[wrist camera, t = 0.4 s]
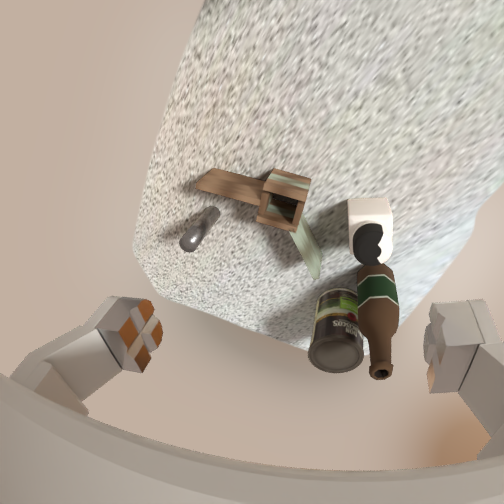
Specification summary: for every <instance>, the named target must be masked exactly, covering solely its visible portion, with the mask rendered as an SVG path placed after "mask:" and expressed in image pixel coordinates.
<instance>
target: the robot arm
mask: <svg viewBox="0 0 504 504" xmlns="http://www.w3.org/2000/svg"><path fill="white" fill-rule="evenodd" d="M153 313H154V307H153V305H152V303H151V301H149V300H147V299H139V298H129V297H117V296H111V297H108V298H107V299H106V300H105V301H104V302H103V303H102V304H101V305H100V307H99V308H98V309H97V310H96V311H95V312H94V314H93V315H92V316H91V317H90V318H89V319H88V321H87V322H86V323H85V324H84V325H83V326H79V327H77V328H75V329H73V330H71V331H69V332H68V333H66V334H64V335H62V336H60V337H58V338H56V339H55V340H53V341H51V342H49V343H47V344H45V345H44V346H42V347H40V348H38V349H36V350H35V351H33V352H31V353H29V354H28V355H27V356H26V357H25V359H24V360H23V361H22V362H21V364H20V365H19V366H18V367H17V368H16V370H15V371H14V372H13V373H12V375H11V376H10V377H9V378H8V377H6V376H4V375H3V374H1V373H0V504H504V342H502V340H501V337H500V335H499V333H498V330H497V327H496V325H495V323H494V320H493V318H492V316H491V313H490V311H489V308H488V306H487V304H486V302H485V301H484V300H483V299H475V300H467V301H454V302H439V303H438V302H436V303H432V305H431V307H430V312H429V317H430V322H431V323H430V324H429V325H428V326H427V327H426V330H425V335H424V358H425V361H426V362H427V363H428V364H429V368H428V371H427V379H428V386H429V393H446V392H458V394H459V395H460V396H461V398H462V399H463V400H464V402H465V403H466V404H467V405H468V407H469V408H470V409H471V411H472V412H473V413H474V415H475V416H476V417H477V419H478V420H479V421H480V423H481V424H482V425H483V427H484V428H485V429H486V431H487V432H488V433H489V435H490V436H491V439H490V440H489V442H488V443H487V444H486V445H485V446H484V448H483V449H482V450H481V451H480V452H479V453H478V454H477V460H475V461H470V462H463V463H457V464H450V465H443V466H435V467H426V468H415V469H402V470H380V471H340V470H318V469H304V468H292V467H284V466H275V465H267V464H260V463H253V462H247V461H241V460H235V459H229V458H225V457H220V456H215V455H210V454H205V453H200V452H197V451H192V450H188V449H184V448H180V447H176V446H173V445H169V444H166V443H162V442H159V441H155V440H152V439H149V438H145V437H142V436H139V435H136V434H133V433H130V432H127V431H124V430H121V429H118V428H116V427H113V426H110V425H108V424H105V423H102V422H100V421H97V420H95V419H92V418H90V417H87V415H88V414H89V412H88V409H87V408H86V407H85V405H84V404H83V403H82V401H83V400H85V399H86V398H87V397H88V396H90V395H91V394H92V393H94V392H95V391H96V390H98V389H99V388H100V387H101V386H103V385H104V384H105V383H107V382H108V381H109V380H110V379H112V378H113V377H114V376H116V375H117V374H118V373H120V372H121V371H122V369H123V370H128V371H133V372H138V373H143V371H144V370H145V368H146V366H147V365H148V363H149V361H150V360H151V352H152V351H154V350H155V349H157V348H158V347H159V345H160V343H161V341H162V336H163V330H162V325H161V323H160V320H159V319H158V318H157V317H155V316H154V315H153Z"/></svg>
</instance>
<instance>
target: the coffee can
mask: <svg viewBox="0 0 504 504" xmlns="http://www.w3.org/2000/svg"><path fill="white" fill-rule="evenodd" d="M308 358H309V360H310V362H311V363H312V364H313V365H314V366H315V367H316V368H318V369H320V370H322V371H325V372H329V373H343V372H348V371H351V370H353V369H355V368H356V367H357V366H359V365H360V364H361V362H362V361H363V358H364V351H363V335H362V334H361V332H360V330H359V326H358V294H357V293H355V292H354V291H352V290H349V289H346V288H333V289H330V290H327V291H325V292H324V293H323V294H321V295H320V297H319V298H318V300H317V303H316V312H315V319H314V324H313V331H312V337H311V343H310V347H309V350H308Z"/></svg>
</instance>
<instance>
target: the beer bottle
mask: <svg viewBox="0 0 504 504" xmlns="http://www.w3.org/2000/svg"><path fill="white" fill-rule="evenodd" d="M357 292H358V326H359V330H360V332H361V334H362V335H364V336H365V337H366V338H367V339H368V343H369V350H370V361H371V366H370V367H369V374H370V376H371V377H372V378H374V379H376V380H383V379H386V378H388V377H390V376H391V375H392V370H393V365H392V364H391V337H392V336H393V335H394V334H395V333H396V331H397V328H398V323H399V303H398V297H397V291H396V285H395V279H394V275H393V271H392V270H391V269H390V268H389V267H387V266H386V265H385V264H384V263H382V264H380V265H377V266H367V265H365V266H364V267H363V268H362V269H361V270H360V271H358V273H357Z"/></svg>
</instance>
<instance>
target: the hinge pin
mask: <svg viewBox="0 0 504 504" xmlns="http://www.w3.org/2000/svg"><path fill="white" fill-rule="evenodd" d="M219 217H220V211H219V210H218V208H216V207H214V206H209V207H207V209H206V210H205V211H204V212H203V213H202V214H201V215H200V217H199V218H198V219H197V220H196V221H195V222H194V224H193V225H192V226H191V227H190V228H189V229H188V231H187V232H186V233H185V234H184V235H183V236H182V238H181V239H180V241H179V244H180V247H181V248H182V249H183V250H184V251H186V252H193V251H195V249H196V248H197V247H198V245H199V244H200V243H201V241H202V240H203V238H204V237H205V236H206V234H207V233H208V232H209V230H210V229H211V228H212V226H213V225H214V224H215V222H216V221H217V220H218V218H219Z"/></svg>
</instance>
